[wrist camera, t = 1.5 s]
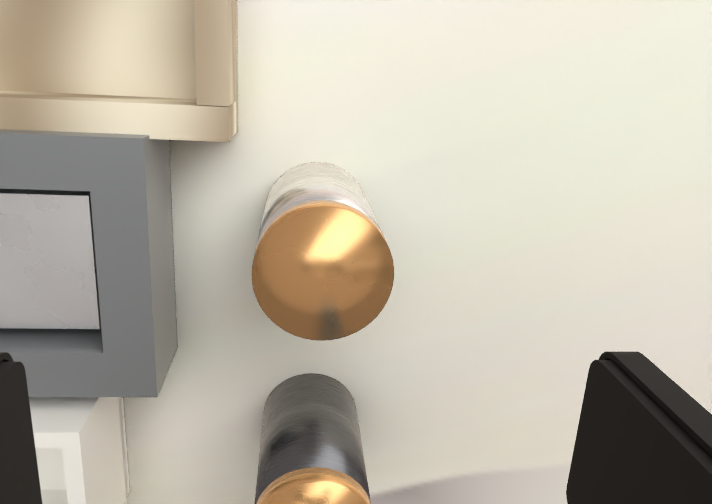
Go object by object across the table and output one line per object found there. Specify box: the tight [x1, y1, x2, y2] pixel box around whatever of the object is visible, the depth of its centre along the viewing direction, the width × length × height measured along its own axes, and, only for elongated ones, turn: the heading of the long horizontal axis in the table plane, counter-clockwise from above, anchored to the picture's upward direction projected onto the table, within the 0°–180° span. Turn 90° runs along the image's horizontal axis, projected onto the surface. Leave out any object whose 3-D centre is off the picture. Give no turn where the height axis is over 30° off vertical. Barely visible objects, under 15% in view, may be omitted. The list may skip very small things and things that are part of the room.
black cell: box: [255, 374, 371, 504], centre depth 24 cm, size 4×4×7 cm
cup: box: [29, 397, 130, 504], centre depth 24 cm, size 6×6×5 cm
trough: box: [0, 0, 238, 142], centre depth 20 cm, size 12×8×3 cm, turn 87°
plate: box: [0, 189, 101, 329], centre depth 21 cm, size 5×5×1 cm
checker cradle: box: [0, 129, 177, 397], centre depth 22 cm, size 9×9×4 cm
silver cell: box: [252, 162, 394, 340], centre depth 21 cm, size 4×4×7 cm
